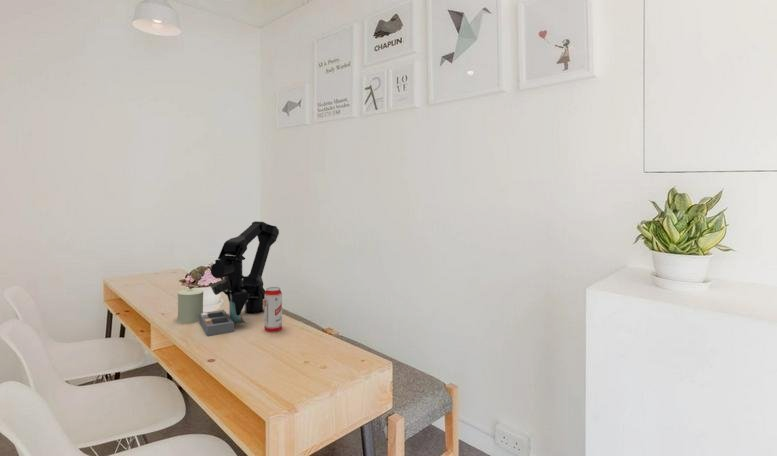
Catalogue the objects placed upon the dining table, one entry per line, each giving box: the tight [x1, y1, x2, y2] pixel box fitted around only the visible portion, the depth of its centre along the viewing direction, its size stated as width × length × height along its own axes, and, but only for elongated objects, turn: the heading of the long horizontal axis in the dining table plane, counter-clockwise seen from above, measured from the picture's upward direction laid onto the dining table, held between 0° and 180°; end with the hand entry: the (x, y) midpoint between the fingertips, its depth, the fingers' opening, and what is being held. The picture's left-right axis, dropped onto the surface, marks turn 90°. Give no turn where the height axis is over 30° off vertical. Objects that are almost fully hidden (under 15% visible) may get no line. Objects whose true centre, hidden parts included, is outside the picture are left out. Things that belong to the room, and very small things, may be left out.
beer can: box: [264, 286, 283, 333], centre depth 150 cm, size 6×6×16 cm
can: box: [177, 288, 204, 324], centre depth 158 cm, size 9×9×12 cm
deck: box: [234, 317, 246, 325], centre depth 158 cm, size 6×7×1 cm
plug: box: [228, 300, 242, 323], centre depth 158 cm, size 4×4×8 cm
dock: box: [198, 309, 235, 337], centre depth 151 cm, size 9×17×5 cm, turn 34°
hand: (235, 311), depth 158 cm, fingers open, 9 cm apart
